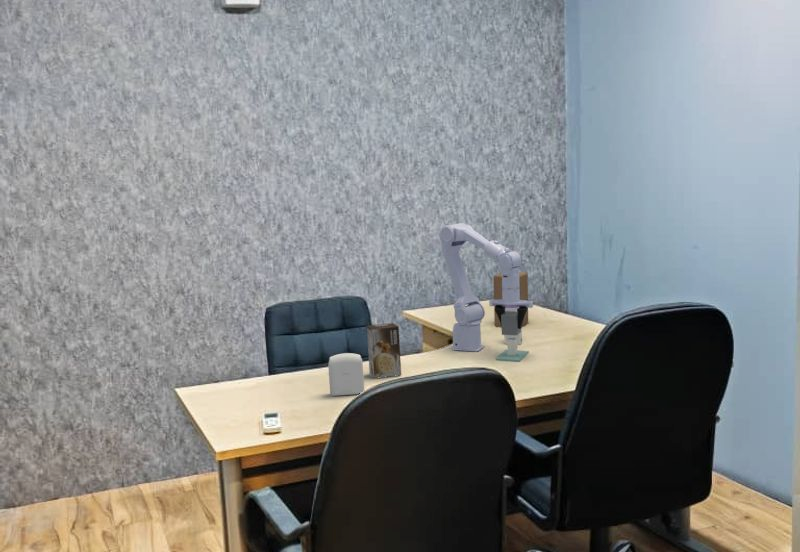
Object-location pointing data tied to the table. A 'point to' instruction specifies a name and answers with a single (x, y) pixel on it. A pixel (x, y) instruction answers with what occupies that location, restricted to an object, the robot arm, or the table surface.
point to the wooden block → (523, 294)
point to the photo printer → (346, 374)
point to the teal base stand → (512, 352)
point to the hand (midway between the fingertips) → (511, 327)
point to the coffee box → (384, 350)
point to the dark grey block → (510, 323)
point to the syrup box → (519, 336)
